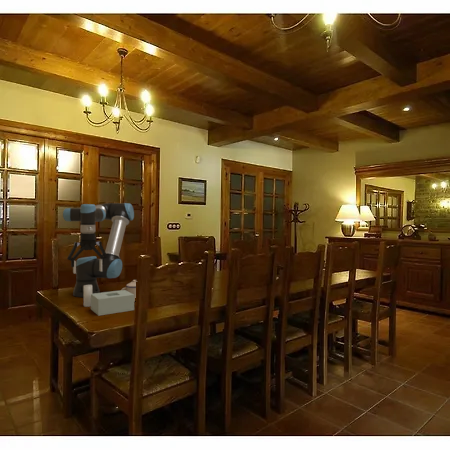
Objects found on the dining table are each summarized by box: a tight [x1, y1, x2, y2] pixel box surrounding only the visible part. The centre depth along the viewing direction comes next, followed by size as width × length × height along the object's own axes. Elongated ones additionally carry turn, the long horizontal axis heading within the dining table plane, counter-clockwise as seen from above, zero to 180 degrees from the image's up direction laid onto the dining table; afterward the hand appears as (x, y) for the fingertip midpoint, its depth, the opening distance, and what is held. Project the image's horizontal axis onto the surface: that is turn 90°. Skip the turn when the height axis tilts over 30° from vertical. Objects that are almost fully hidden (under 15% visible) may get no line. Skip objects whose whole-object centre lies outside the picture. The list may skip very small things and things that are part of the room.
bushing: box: [83, 285, 92, 308], centre depth 184 cm, size 4×4×11 cm
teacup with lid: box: [121, 279, 137, 303], centre depth 197 cm, size 12×9×12 cm
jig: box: [90, 289, 135, 317], centre depth 176 cm, size 14×18×8 cm
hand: (87, 272), depth 183 cm, fingers open, 13 cm apart
